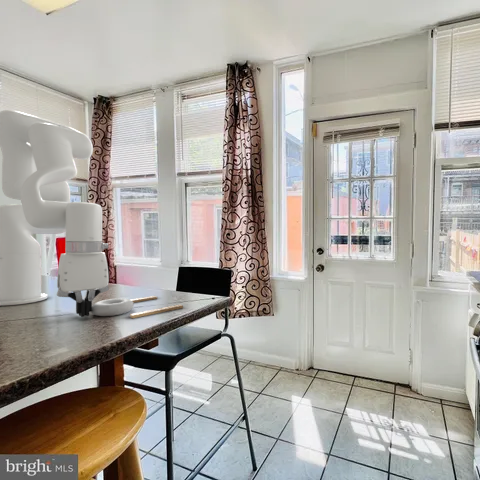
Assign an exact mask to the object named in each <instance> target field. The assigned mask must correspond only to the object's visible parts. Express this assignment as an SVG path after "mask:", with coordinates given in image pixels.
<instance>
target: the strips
mask: <svg viewBox="0 0 480 480" xmlns="http://www.w3.org/2000/svg"><path fill="white" fill-rule="evenodd" d="M157 299H158V296H156V295H151V296H144V297H137V298H132V299H130V300H131V301H133V304H134V303H140V302H147V301H152V300H157ZM183 308H184V305H183V304H175V305H170V306H165V307H160V308H154V309H149V310H144V311H138V312H134V313H129V318H131V319H135V318H141V317H146V316H151V315H155V314H160V313H165V312H171V311H175V310H179V309H183Z"/></svg>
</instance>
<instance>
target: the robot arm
mask: <svg viewBox="0 0 480 480" xmlns="http://www.w3.org/2000/svg"><path fill="white" fill-rule="evenodd" d="M0 150H1V154H2V155H1V156H2V161H1V162H2V164H1V189H2V193H3V195H4V196H5V197H7V198H9V199H12V200H18V201H20V203H18V204H17V203H7V204H3V205H0V306H1V307H3V306H15V305H25V304H31V303H37V302H41V301H44V300H46V299H48V297H49V295H48V294H47V293H42V246H41V244H40V242H39V241H38V240H37V239H36V238H35V237H34V236H32V235H59V234H64V233H65V241H64V242H65V253H60V257H59V262H58V267H57V277H56V278H57V279H56V288H57V292H56V296H57V297H59V298H70V299H72V300H73V301H75V313H76V315H78V316H79V317H81V318H83V317H89V316H90V313H92V312H91V311H92V306H93V301H94V300H95V298H96V297H97V296H98V295H99V294H102V293H105V292H108V291H110V288H109V281H110V280H109V279H110V277H109V266H108V261H107V256H106V253H105V252H103V251H104V250H105V249H109V244H108V243H105V242H104V241H103V208H102V206H101V205H100V204H98V203H95V202H85V201H83V202H82V201H71V187H70V185H69V182H68V181H70V180H72V179H74V178H76V176H77V174H78V168H77V166H76V161H75V159H77V160H81V161H85V160H88V159H90V158H91V157H92V155H93V152H94V146H93V143H92V141H91V139H90V137H88V135H87V134H86V133H84V132H81V131H79V130H77V129H75V128H73V127H71V126H69V125H65V124H62V123H58V122H56V121H53V120H49V119H45V118H43V117H39V116H36V115H32V114H29V113H25V112H21V111H17V110H9V109H5V110H1V111H0ZM83 291H86V293H85V297H84V298H83V294H82V292H83Z"/></svg>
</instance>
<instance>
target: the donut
mask: <svg viewBox="0 0 480 480" xmlns="http://www.w3.org/2000/svg"><path fill="white" fill-rule="evenodd" d="M134 306H135V305H134V303H133V301H131V299H129V298H110V299H103V300H99V301H97V302H95V303H92V311H91V312H90V313H92V314H93V315H94V316H97V317H113V316H119V315H124V314H127V313H129V312H130V311H131V310H133V309H134Z"/></svg>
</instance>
